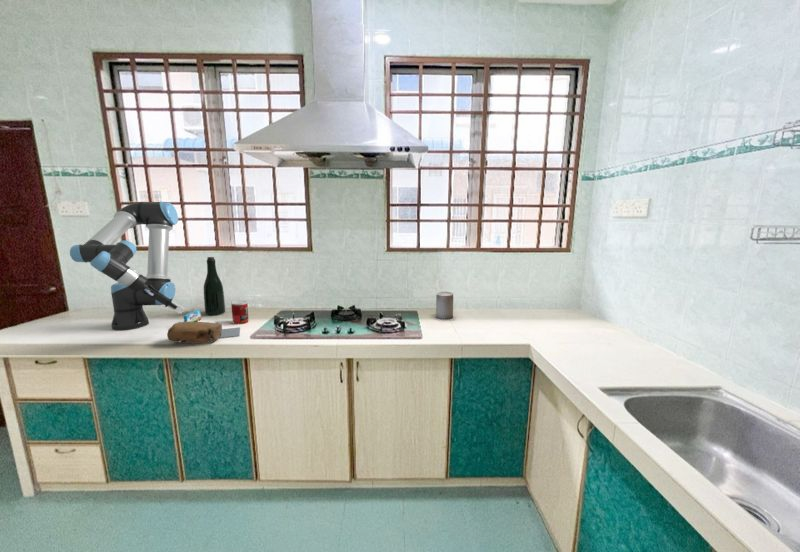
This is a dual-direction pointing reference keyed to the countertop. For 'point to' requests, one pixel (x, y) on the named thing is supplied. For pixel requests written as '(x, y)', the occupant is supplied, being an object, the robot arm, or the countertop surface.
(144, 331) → the countertop surface
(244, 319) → the canned food
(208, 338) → the brown lumpy oval piece
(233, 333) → the mat
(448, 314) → the pillar candle
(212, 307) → the beer bottle
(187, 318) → the blue snack box
